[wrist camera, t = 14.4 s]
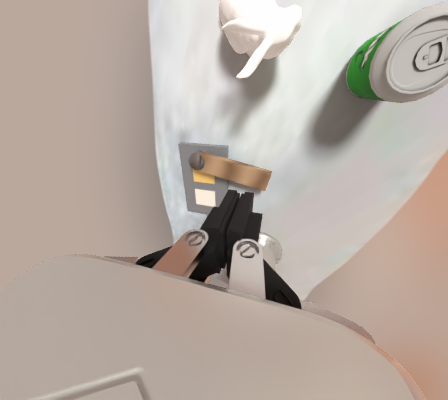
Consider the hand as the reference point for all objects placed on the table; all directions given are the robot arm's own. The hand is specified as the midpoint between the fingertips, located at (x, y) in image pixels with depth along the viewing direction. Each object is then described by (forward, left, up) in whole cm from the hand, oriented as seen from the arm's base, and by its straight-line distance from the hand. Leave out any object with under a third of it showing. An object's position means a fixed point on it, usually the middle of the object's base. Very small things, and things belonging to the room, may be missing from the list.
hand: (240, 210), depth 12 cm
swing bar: (-4, +9, -25) cm, 27 cm away
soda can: (+4, -16, -27) cm, 32 cm away
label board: (-7, +17, -27) cm, 33 cm away
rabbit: (+14, -2, -27) cm, 31 cm away
